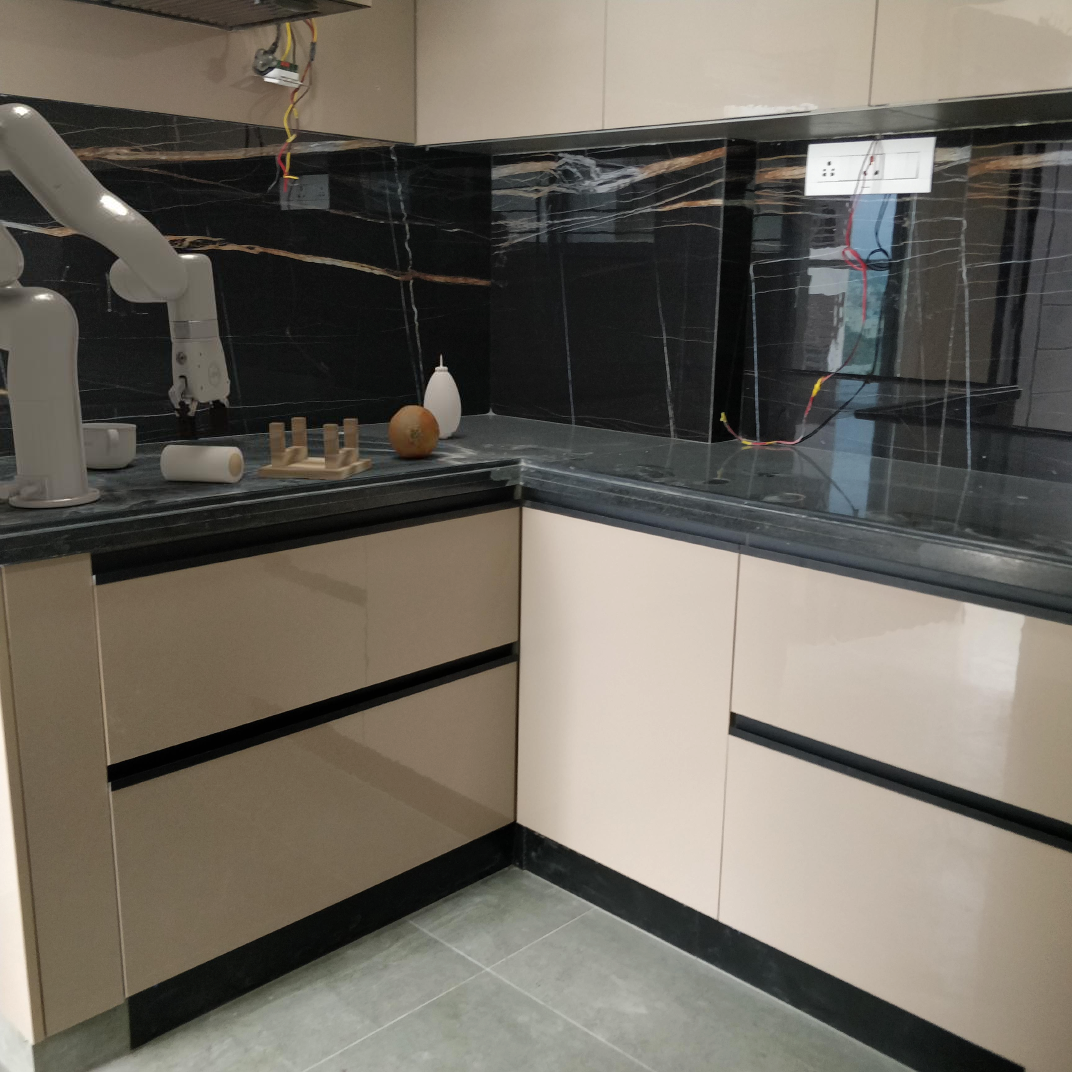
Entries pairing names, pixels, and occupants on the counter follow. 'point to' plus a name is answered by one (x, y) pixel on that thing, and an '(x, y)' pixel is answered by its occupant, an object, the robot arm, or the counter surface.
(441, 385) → the sauce bottle
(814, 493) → the counter surface
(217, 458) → the towel roll
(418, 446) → the orange
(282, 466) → the roll holder
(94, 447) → the teacup
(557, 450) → the counter surface
